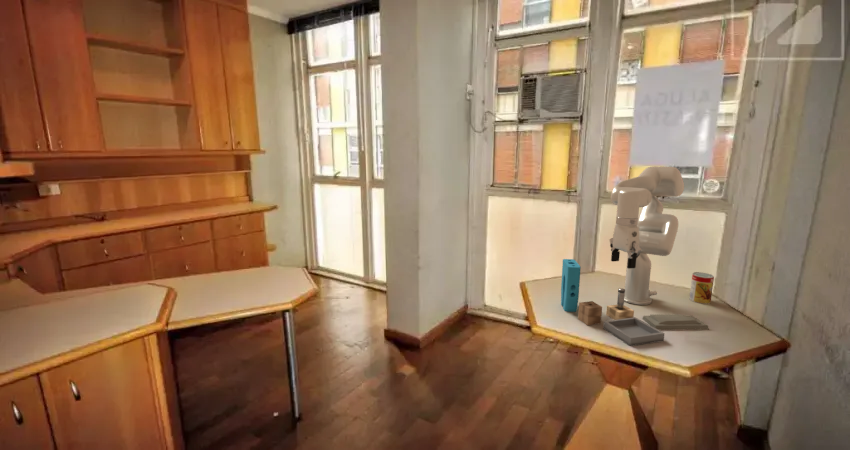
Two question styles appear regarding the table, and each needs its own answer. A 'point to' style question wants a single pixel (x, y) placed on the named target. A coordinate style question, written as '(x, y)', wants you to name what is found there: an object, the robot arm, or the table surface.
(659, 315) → the soap mold
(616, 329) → the tray
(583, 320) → the walnut block
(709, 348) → the table surface
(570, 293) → the block
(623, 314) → the oak block
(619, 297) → the gauge pin
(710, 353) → the table surface
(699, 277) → the canned food
